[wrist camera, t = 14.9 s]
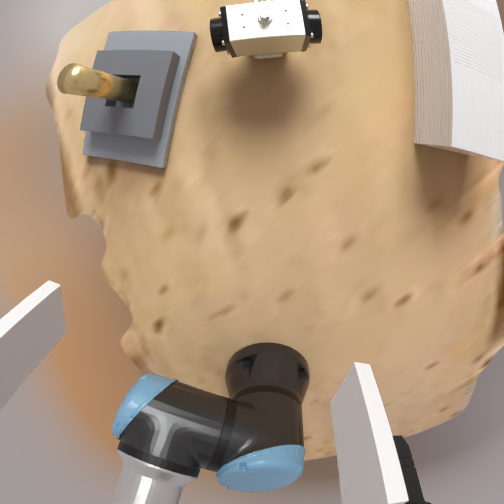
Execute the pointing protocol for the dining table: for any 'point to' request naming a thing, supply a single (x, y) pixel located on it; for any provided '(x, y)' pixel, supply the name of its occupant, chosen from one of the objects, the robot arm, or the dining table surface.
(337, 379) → the dining table surface
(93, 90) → the brass pin
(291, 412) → the robot arm
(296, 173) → the dining table surface
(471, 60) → the stack of papers
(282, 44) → the pneumatic valve
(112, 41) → the grey socket base
